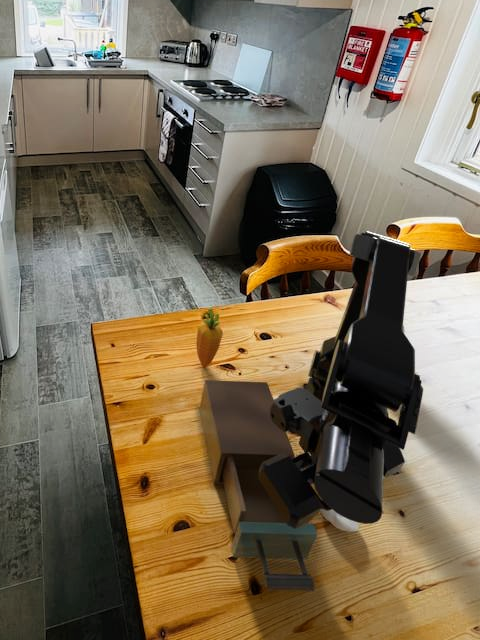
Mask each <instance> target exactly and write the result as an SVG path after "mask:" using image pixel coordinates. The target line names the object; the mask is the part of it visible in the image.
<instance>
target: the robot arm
mask: <svg viewBox="0 0 480 640" xmlns="http://www.w3.org/2000/svg"><path fill="white" fill-rule="evenodd" d="M349 256H351V257H352V260H351V266H350V272H351V274H352V276H353V279H354V285H353V287H352V290H351V293H350V295H349V298H348V301H347V304H346V307H345V310H344V313H343V315H342V317H341V320H340V323H339V326H338V328H337V332H336V334H335V336H333V337H330V338H328V339H325V340H323V342H322V345H321V347H320V350H317V349H316V350H314V353H313V356H312V359H311V363H310V367H309V371H308V375H307V377H309V378H308V381H307V382H306V383H303V384H302V387H296V388H293V389H291V390H289V391H286V392H283V393H280V394H279V395H278V396H277V398H273V399H274V400H273V404H272V405H271V408H270V417H271V420H272V422H273V423H274V424H276V425H277V426H278V427H279V428H280V429H281V430H282V431H283V432H286V433H287V432H289V431H292V432H293V433H295V435H297V436H298V437H300V438H299V440H298V445H299V447H300V448H301V449H302V451H303V453H300V454H299V455H295V457H294V458H293V460H292V459H291V457H290V456H289V455H286V454H284V453H281V454H279V455H277V456H275V457H273V458H271V459H268V460H266V461H264V462H262V463H261V466H260V470H259V476H258V478H259V480H260V482H261V483H262V485H263V486H264V488H265V490H266V491H267V493H268V494H269V496H270V498H271V499H272V501H273V503H274V504H275V506H276V507H277V509H278V511H279V512H280V514H281V515H282V517H283V519H284V520H285V522H286V524H287V525H288V526H290V527H292V528H294V529H296V528H298V527H300V526H302V525H303V524H308V523H309V522H310V521H312V520H313V519H315V518H316V517H317V516H318V514H319V513H321V512H320V509H324V510H326V511H329V510H334V511H335V512H336V513H338V514H339V515H341V516H343V517H345V518H347V519H349V520H352V521H355V522H358V523H359V524H364V525H371V524H375V523H377V522H379V521H380V520H381V519H382V516H383V501H384V500H383V499H384V498H383V497H384V493H383V492H384V478H387V479H388V478H389V477H391V476H393V475H395V474H397V473H398V472H400V471H401V470H402V468H403V467H404V464H405V463H406V459H405V458H404V455H403V452H402V451H404V450H405V448H406V444H407V440H408V436H409V434H412V435H415V434H416V431H417V424H418V421H419V420H418V419H419V416H420V411H421V410H420V409H421V405H422V400H423V395H424V387H423V385H422V381H423V380H421V375H420V374H419V373H418V372H417V371H416V349H415V347H414V346H413V344H412V343H411V341H410V339H408V337H407V335H406V333H405V332H403V326H404V320H405V319H404V317H405V309H406V308H405V307H406V298H407V297H406V295H407V287H408V277H409V276H412V277H416V273H417V269H418V266H419V263H420V260H421V256H422V252H419V251H416V250H415V249H414V248H411V244H410V243H408V242H405V241H400V240H398V239H394V238H392V237H388V236H384V235H381V234H378V233H374V232H371V231H368V230H365V232H364V231H363V232H361V233H360V234H359V233H356V234H355V235H354V238H353V241H352V243H351V246H350V250H349ZM388 410H390V411H392V412H394V413H395V412H397V411H398V410H399V415H398V422H397V421H396V420H395V419H393V418H391V417H390V416H389V411H388Z"/></svg>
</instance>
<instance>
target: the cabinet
mask: <svg viewBox="0 0 480 640" xmlns="http://www.w3.org/2000/svg"><path fill="white" fill-rule="evenodd" d="M203 384H204V385H203V389H202V393H201V399H200V404H199V408H198V409H199V417H200V421H201V425H202V431H203V436H204V441H205V447H206V452H207V457H208V462H209V468H210V472H211V477H212V483H213V485H220V486H221V485H223V486H224V484H223V479H222V474H221V472H222V468H223V464H224V460H225V456H230V457H261V458H273V457H275V456H277V455H279V454H281V453H284V454H286V455H289V456H290V457H291V459H292V460H293V458H294V457H296V455H295V452H294V449H293V447H292V444H291V441H290V439H289V436H288V434H287V431H286V432H283V431H282V430H281V429H280V428H279V427H278V426H277V425H276V424H274V423H273V422H272V420H271V417H270V408H271V405H272V404H273V400H274V399H275V398H274V397H273V394H272V391H271V389H270V385H269V383H268V382H267V381H245V380H244V381H241V380H216V379H212V380H211V379H205V380H204V383H203Z"/></svg>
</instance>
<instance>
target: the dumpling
mask: <svg viewBox="0 0 480 640" xmlns="http://www.w3.org/2000/svg"><path fill="white" fill-rule="evenodd" d="M319 513H320V514H321V515H322V516H323V518H325V519H326V520H327V521H328V522H329V523H331V524H332V526H333V527H335V528H336V529H338V530H340V531H342V532H343V531H344V532H351V533H353V532H357V533H356V535H359V533H360V531H359V529H360V523H358V522H355V521H352V520H349V519H347V518H345V517H343V516H341V515H339V514H338V513H336V512H335V511H334V510H329V511H326V510H324V509H320V512H319Z"/></svg>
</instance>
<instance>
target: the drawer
mask: <svg viewBox="0 0 480 640" xmlns="http://www.w3.org/2000/svg"><path fill="white" fill-rule="evenodd" d="M268 459H271V458H261V457H230V456H225V460H224V464H223V468H222V472H221V474H222V479H223V484H224V485H223V488H224V492H225V497H226V498H225V499H226V503H227V507H228V511H229V516H230V521H231V526H232V530H233V531H232V532H233V534H234V536H233V540H232V543H231V552H232V556H233V557H232V558H243V559H260V564H261V568H262V572H263V574H262V583H263V587H264V589H265V590H267V591H301V592H314V591H315V582H314V579H313V577H312V575H311V574H309V573H308V569H307V566H306V564H305V560H307V559H308V558H309V555H310V553H311V551H312V548H313V546H314V544H315V542H316V539H317V537H318V535H319V534H318V532H317V529H316V527H315V524H314V523H305V524H303V525H302V526H300V527H298V528H296V529H294V528H292V527H290V526H288V525H287V524H286V522H285V520H284V519H283V517H282V515H281V514H280V512H279V511H278V509H277V507H276V506H275V504H274V503H273V501H272V499H271V498H270V496H269V494H268V493H267V491H266V490H265V488H264V486H263V485H262V483H261V482H260V480H259V478H258V476H259V470H260V466H261V463H262V462H264V461H266V460H268ZM267 559H278V560H279V559H280V560H281V559H283V560H297V562H298V566H299V569H300V572H301V574H299V573H298V574H297V573H296V574H295V573H270V570H269V569H270V568H269V566H268V562H267Z"/></svg>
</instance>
